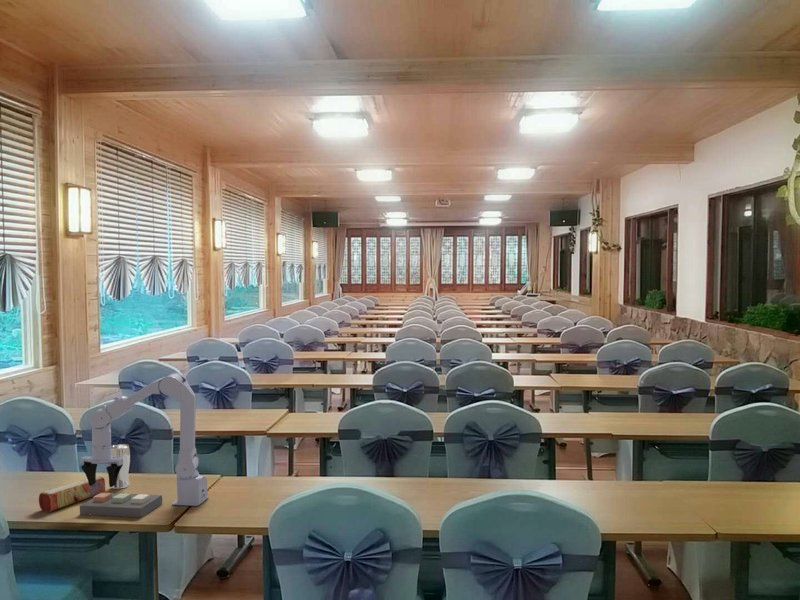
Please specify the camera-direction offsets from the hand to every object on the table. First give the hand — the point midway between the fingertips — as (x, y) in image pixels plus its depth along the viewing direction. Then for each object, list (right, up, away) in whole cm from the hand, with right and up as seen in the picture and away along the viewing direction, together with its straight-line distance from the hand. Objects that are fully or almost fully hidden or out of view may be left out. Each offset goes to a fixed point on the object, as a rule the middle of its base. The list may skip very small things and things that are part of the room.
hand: (102, 485), depth 200 cm
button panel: (+7, -8, -1) cm, 10 cm away
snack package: (-14, -8, +8) cm, 18 cm away
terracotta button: (0, -6, 0) cm, 6 cm away
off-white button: (+14, -6, -2) cm, 15 cm away
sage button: (+7, -6, -1) cm, 9 cm away
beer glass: (-4, -8, +22) cm, 24 cm away
